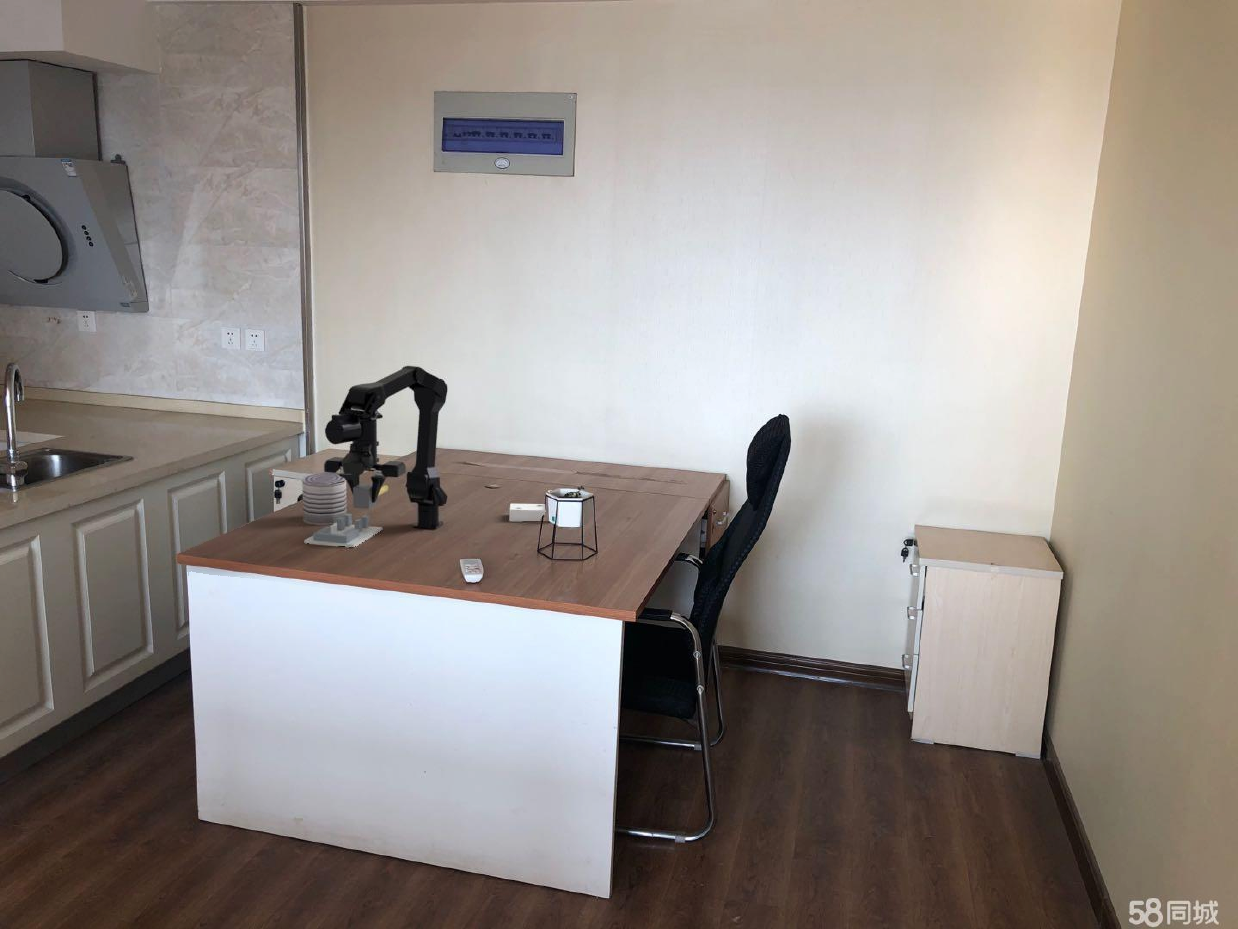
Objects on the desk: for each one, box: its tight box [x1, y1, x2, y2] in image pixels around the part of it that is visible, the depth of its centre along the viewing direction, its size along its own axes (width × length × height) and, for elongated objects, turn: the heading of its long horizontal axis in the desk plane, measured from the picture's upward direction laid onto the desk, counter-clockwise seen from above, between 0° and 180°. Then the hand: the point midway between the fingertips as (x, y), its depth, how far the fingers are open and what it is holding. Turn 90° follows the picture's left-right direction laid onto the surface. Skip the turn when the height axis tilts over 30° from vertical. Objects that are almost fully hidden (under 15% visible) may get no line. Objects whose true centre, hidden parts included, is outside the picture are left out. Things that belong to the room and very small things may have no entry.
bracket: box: [508, 490, 551, 522], centre depth 274 cm, size 13×7×8 cm, turn 94°
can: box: [301, 471, 348, 526], centre depth 263 cm, size 11×11×12 cm
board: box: [304, 513, 383, 548], centre depth 249 cm, size 17×13×4 cm
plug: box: [352, 482, 389, 510], centre depth 244 cm, size 16×4×5 cm, turn 171°
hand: (365, 501), depth 239 cm, fingers closed on plug, 4 cm apart
